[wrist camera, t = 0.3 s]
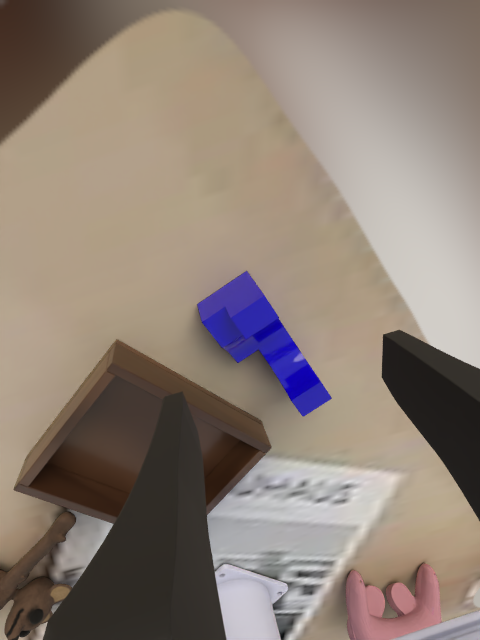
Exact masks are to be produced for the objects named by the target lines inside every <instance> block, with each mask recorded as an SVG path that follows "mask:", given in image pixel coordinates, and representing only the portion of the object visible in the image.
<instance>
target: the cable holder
mask: <svg viewBox="0 0 480 640" xmlns="http://www.w3.org/2000/svg"><path fill="white" fill-rule="evenodd" d="M197 306H198V310H199V313H200V317H201V321H202V323H203V324H204V326H205V327H206V328H207V329H208V331H209V332H210V333H211V334H212V336H213V337H214V338H215V340H216V341H217V342H218V343H219V345H220V346H221V347H222V348H223V349H225V350H226V351H227V352H228V353H229V354H230V355H231V356H232V357H233V358H234V359H235V360H236V362H237V363H239V362H240V361H242V360H243V359H245V358H246V357H248V356H249V355H251V354H252V353H254V352H255V351H257V350H258V349H259V351H260V352H261V353H262V355H263V356H264V358H265V359H266V361H267V362H268V364H269V365H270V367H271V368H272V370H273V371H274V373H275V374H276V376H277V377H278V379H279V381H280V382H281V384H282V386H283V387H284V389H285V391H286V392H287V394H288V396H289V398H290V399H291V401H292V403H293V404H294V405H295V407H296V408H297V409H298V411H299V412H300V413H301V415H302V416H305V415H307V414H308V413H310V412H311V411H313V410H314V409H316V408H318V407H319V406H321V405H322V404H324V403H325V402H327V401H329V400H330V399H332V398H331V396H330V395H329V393H328V392H327V390H326V389H325V387H324V386H323V384H322V383H321V381H320V380H319V378H318V377H317V375H316V374H315V372H314V371H313V370H312V368H311V367H310V365H309V364H308V362H307V361H306V359H305V358H304V356H303V355H302V353H301V352H300V350H299V349H298V347H297V346H296V344H295V343H294V341H293V340H292V338H291V337H290V335H289V334H288V332H287V331H286V329H285V328H284V326H283V325H282V323H281V321H280V320H279V317H278V316H277V314H276V312H275V311H274V309H273V308H272V306H271V305H270V303H269V302H268V300H267V299H266V297H265V296H264V294H263V293H262V291H261V290H260V289H259V287H258V286H257V285H256V283H255V282H254V280H253V279H252V278H251V276H250V275H249V273H248V272H247V271H246V272H244V273H243V274H241V275H240V276H238V277H237V278H235V279H234V280H232V281H231V282H229V283H228V284H226V285H225V286H223V287H222V288H220V289H219V290H218V291H216V292H215V293H213V294H212V295H210V296H209V297H207V298H206V299H204V300H203V301H201V302H200V303H198V304H197Z"/></svg>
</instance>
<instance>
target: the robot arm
mask: <svg viewBox="0 0 480 640" xmlns="http://www.w3.org/2000/svg"><path fill="white" fill-rule="evenodd" d="M382 378H383V380H384V382H385V384H386V385H387V387H388V389H389V391H390V392H391V394H392V396H393V397H394V399H395V400H396V402H397V403H398V405H399V406H400V407H401V409H402V410H403V411H404V412H405V414H406V415H407V416H408V418H409V419H410V420H411V421H412V423H413V424H414V425H415V427H416V428H417V429H418V430H419V432H420V433H421V434H422V435H423V437H424V438H425V439H426V440H427V442H428V443H429V444H430V446H431V447H432V448H433V449H434V451H435V452H436V453H437V455H438V456H439V457H440V459H441V460H442V461H443V463H444V464H445V466H446V467H447V469H448V470H449V472H450V474H451V475H452V477H453V478H454V480H455V481H456V483H457V484H458V486H459V488H460V489H461V491H462V492H463V494H464V496H465V497H466V499H467V501H468V502H469V504H470V506H471V507H472V509H473V511H474V512H475V514H476V516H477V517H478V519H479V521H480V369H479V368H476V367H474V366H471V365H469V364H467V363H465V362H463V361H461V360H458V359H457V358H455V357H452V356H450V355H448V354H446V353H444V352H442V351H440V350H438V349H436V348H434V347H432V346H431V345H429V344H427V343H425V342H423V341H421V340H419V339H417V338H415V337H413V336H411V335H409V334H407V333H405V332H403V331H401V330H397V331H394V332H390V333H387V334H383V356H382ZM287 590H288V586H287V584H286V583H283V582H280V581H277V580H274V579H271V578H268V577H265V576H262V575H259V574H256V573H253V572H250V571H247V570H244V569H241V568H238V567H235V566H232V565H229V564H224V565H222V566H221V567H220V568H219V569H218V570H217V571H216V572H214V566H213V559H212V553H211V547H210V541H209V533H208V524H207V511H206V496H205V482H204V468H203V457H202V451H201V446H200V440H199V435H198V430H197V428H196V425H195V422H194V420H193V417H192V415H191V412H190V409H189V407H188V404H187V402H186V399H185V396H184V394H183V391H182V392H179V393H175V394H172V395H168V396H165V397H164V399H163V401H162V406H161V410H160V414H159V418H158V421H157V424H156V428H155V431H154V434H153V437H152V440H151V443H150V446H149V449H148V452H147V454H146V457H145V459H144V462H143V464H142V467H141V469H140V472H139V474H138V477H137V479H136V481H135V483H134V486H133V488H132V490H131V492H130V494H129V496H128V498H127V500H126V502H125V504H124V506H123V508H122V510H121V512H120V514H119V516H118V517H117V519H116V521H115V523H114V525H113V526H112V528H111V530H110V532H109V533H108V535H107V537H106V538H105V540H104V542H103V543H102V545H101V546H100V548H99V550H98V551H97V553H96V554H95V556H94V557H93V559H92V560H91V562H90V563H89V565H88V566H87V568H86V570H85V571H84V573H83V574H82V576H81V577H80V578H79V580H78V581H77V583H76V584H75V585H74V587H73V588H72V589H71V591H70V592H69V593H68V595H67V596H66V598H65V599H64V600H63V602H62V603H61V604H60V606H59V607H58V608H57V610H56V611H55V612H54V614H53V615H52V616H51V618H50V619H49V620H48V623H47V627H46V631H45V634H44V637H43V640H281V638H280V634H279V630H278V626H277V622H276V618H275V615H274V611H273V607H272V604H273V603H275V602H276V601H277V600H278V599H279V598H280V597H281V596H282V595H283V594H284V593H286V592H287ZM391 640H480V610H478V611H475V612H472V613H469V614H466V615H463V616H460V617H457V618H454V619H451V620H448V621H445V622H442V623H439V624H436V625H433V626H430V627H427V628H424V629H421V630H418V631H415V632H412V633H409V634H406V635H403V636H400V637H397V638H394V639H391Z"/></svg>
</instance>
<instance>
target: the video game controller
mask: <svg viewBox="0 0 480 640" xmlns="http://www.w3.org/2000/svg"><path fill="white" fill-rule="evenodd" d="M386 598H387V601H388V603H389V604H390V606H391V607H392V609H393V610H394V611H395V612H396V613H397V615H398V617H395V618H389V619H386V618H382V614H383V612H384V609H385V599H384V596H383V593H382V592H381V590H380V589H379V588H377V587H375V586H371V585H368V586H365V585H364V582H363V579H362V577H361V575H360V574H359V573H358V572H357V571H355V570H352V571H351V572H350V573H349V575H348V578H347V582H346V604H347V612H348V621H347V629H348V634H349V637H350V639H351V640H391V639H394V638H397V637H400V636H403V635H406V634H409V633H412V632H415V631H418V630H421V629H424V628H427V627H430V626H433V625H436V624H439V623H442V621H441V609H440V591H439V582H438V579H437V576H436V574H435V572H434V570H433V569H432V567H431V566H430V565H428V564H425V563H424V564H422V565H421V566H420V568H419V570H418V572H417V577H416V585H415V596H414V597H413V596H412V594H411V593H410V591H409V590H408V588H407V587H406V586H405V585H404V584H402V583H394V584H390V585H389V586H388V587H387V589H386Z"/></svg>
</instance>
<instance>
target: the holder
mask: <svg viewBox="0 0 480 640" xmlns="http://www.w3.org/2000/svg"><path fill="white" fill-rule="evenodd" d="M182 391H183V394H184V396H185V399H186V402H187V404H188V407H189V409H190V412H191V415H192V417H193V420H194V422H195V425H196V428H197V430H198V435H199V440H200V446H201V451H202V457H203V468H204V482H205V496H206V511H207V515H208V514H209V513H210V512H211V510H212V509H213V508H214V507H215V506H216V505H217V504H218V503H219V502H220V501H221V500H222V499H223V498H224V497H225V496H226V495H227V494H228V493H229V492H230V491H231V490H232V489H233V488H234V487H235V485H236V484H237V483H238V482H239V481H240V480H241V479H242V478H243V477H244V476H245V475H246V474H247V473H248V472H249V471H250V470H251V469H252V468H253V467H254V466H255V465H256V464H257V463H258V461H259V460H260V459H261V458H262V457H263V456H264V455H265V454H266V453H267V452H268V451H269V450H270V449H271V445H270V442H269V439H268V437H267V434H266V432H265V429H264V426H263V424H262V421H261V420H259V419H257V418H255V417H254V416H252V415H250V414H248V413H246V412H245V411H243V410H241V409H239V408H238V407H236V406H234V405H232V404H231V403H229V402H227V401H225V400H223V399H222V398H220V397H218V396H216V395H215V394H213V393H211V392H209V391H208V390H206V389H204V388H202V387H200V386H199V385H197V384H195V383H193V382H192V381H190V380H188V379H186V378H184V377H183V376H181V375H179V374H177V373H176V372H174V371H172V370H170V369H169V368H167V367H165V366H163V365H161V364H160V363H158V362H156V361H154V360H153V359H151V358H149V357H147V356H146V355H144V354H142V353H140V352H138V351H137V350H135V349H133V348H131V347H130V346H128V345H126V344H124V343H123V342H121V341H119V340H116V341H115V342H114V343H113V345H112V346H111V347H110V348H109V350H108V351H107V352H106V354H105V355H104V356H103V358H102V359H101V360H100V361H99V363H98V364H97V365H96V367H95V368H94V369H93V371H92V372H91V373H90V374H89V376H88V377H87V378H86V380H85V381H84V382H83V384H82V385H81V386H80V388H79V389H78V390H77V391H76V393H75V394H74V395H73V397H72V398H71V399H70V401H69V402H68V403H67V404H66V406H65V407H64V408H63V410H62V411H61V412H60V414H59V415H58V416H57V417H56V419H55V420H54V421H53V423H52V424H51V425H50V427H49V428H48V429H47V431H46V432H45V433H44V434H43V436H42V437H41V438H40V440H39V441H38V442H37V444H36V445H35V446H34V447H33V449H32V450H31V451H30V453H29V454H28V455H27V457H26V459H25V462H24V464H23V467H22V469H21V472H20V474H19V477H18V479H17V482H16V484H15V487H14V490H15V491H18V492H21V493H24V494H27V495H30V496H33V497H36V498H39V499H42V500H45V501H48V502H50V503H53V504H56V505H59V506H62V507H65V508H68V509H71V510H74V511H77V512H80V513H83V514H86V515H89V516H92V517H95V518H98V519H101V520H104V521H107V522H110V523H113V524H114V523H115V521H116V519H117V517H118V516H119V514H120V512H121V510H122V508H123V506H124V504H125V502H126V500H127V498H128V496H129V494H130V492H131V490H132V488H133V486H134V483H135V481H136V479H137V477H138V474H139V472H140V469H141V467H142V464H143V462H144V459H145V457H146V454H147V452H148V449H149V446H150V443H151V440H152V437H153V434H154V431H155V428H156V424H157V421H158V418H159V414H160V410H161V406H162V401H163V399H164V397H165V396H168V395H172V394H175V393H179V392H182Z"/></svg>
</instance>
